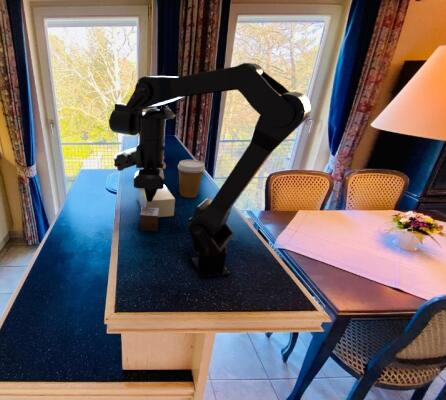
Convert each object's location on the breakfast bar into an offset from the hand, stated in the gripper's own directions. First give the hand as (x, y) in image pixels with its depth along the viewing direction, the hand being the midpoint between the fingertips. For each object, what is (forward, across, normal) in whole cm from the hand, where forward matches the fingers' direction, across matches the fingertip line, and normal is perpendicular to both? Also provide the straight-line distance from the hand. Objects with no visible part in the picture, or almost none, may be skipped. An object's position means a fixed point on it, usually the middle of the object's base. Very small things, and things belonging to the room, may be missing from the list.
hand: (149, 201), depth 66 cm
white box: (+12, -19, +1) cm, 23 cm away
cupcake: (+12, -51, 0) cm, 53 cm away
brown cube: (+12, -8, 0) cm, 14 cm away
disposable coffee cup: (+12, -32, +13) cm, 37 cm away
